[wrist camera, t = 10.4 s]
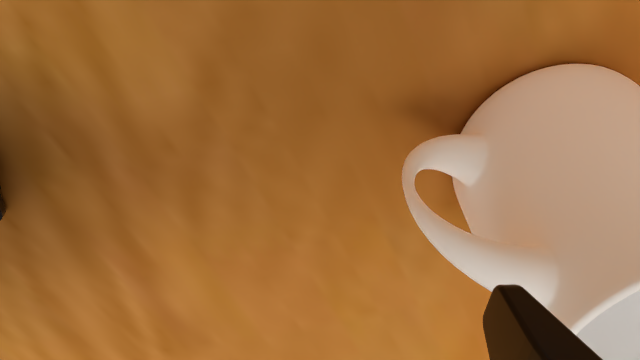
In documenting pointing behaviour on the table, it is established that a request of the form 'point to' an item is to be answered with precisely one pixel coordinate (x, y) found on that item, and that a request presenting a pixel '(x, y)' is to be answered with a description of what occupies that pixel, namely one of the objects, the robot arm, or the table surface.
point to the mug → (549, 198)
